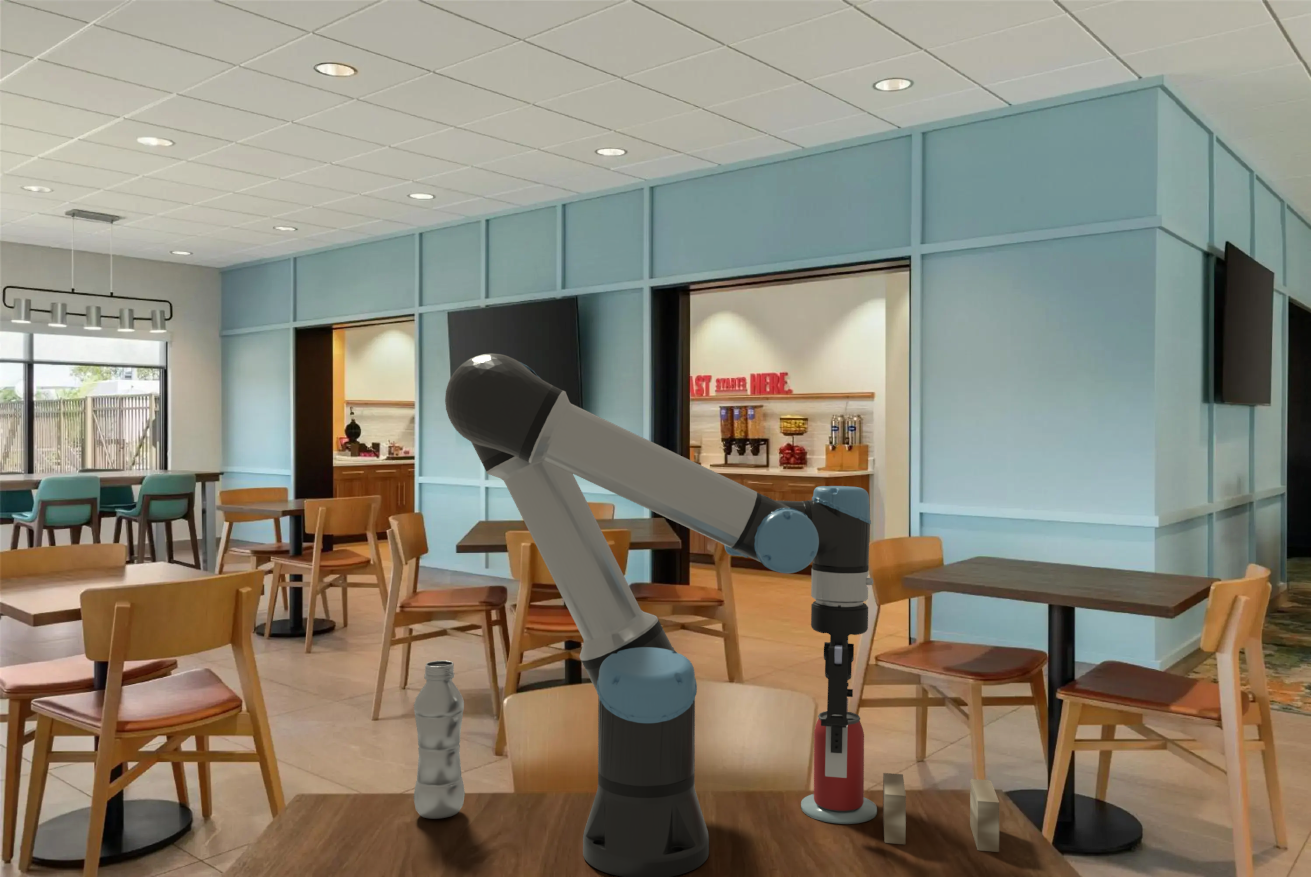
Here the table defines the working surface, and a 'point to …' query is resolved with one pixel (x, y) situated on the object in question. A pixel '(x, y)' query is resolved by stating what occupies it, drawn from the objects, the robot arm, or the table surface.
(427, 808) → the plastic bottle
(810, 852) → the table surface
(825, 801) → the beer can
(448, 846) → the table surface
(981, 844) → the block
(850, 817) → the coaster
